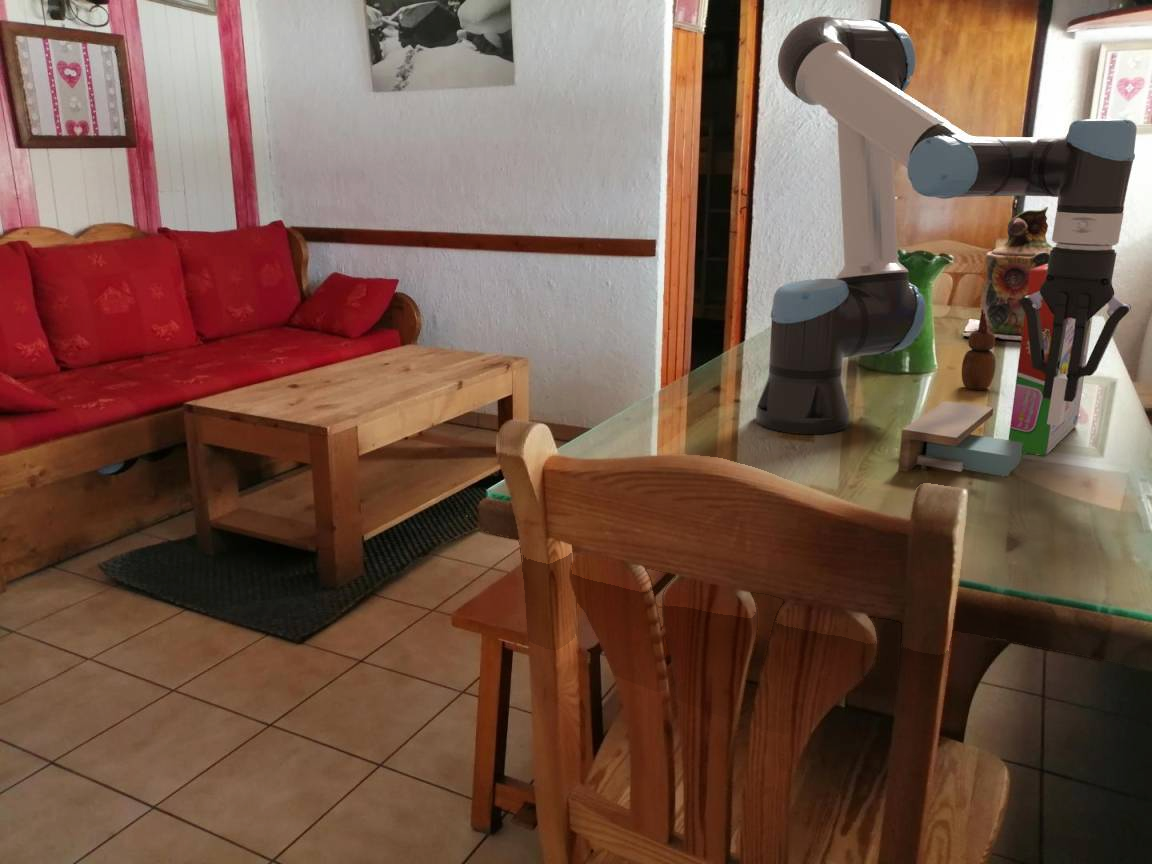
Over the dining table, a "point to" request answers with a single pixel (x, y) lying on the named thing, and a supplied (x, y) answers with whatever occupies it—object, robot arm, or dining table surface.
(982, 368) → the wooden figurine
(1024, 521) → the dining table surface
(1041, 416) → the game box
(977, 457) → the slate blue rectangular box
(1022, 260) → the cookie jar
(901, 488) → the dining table surface
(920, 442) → the overhang
